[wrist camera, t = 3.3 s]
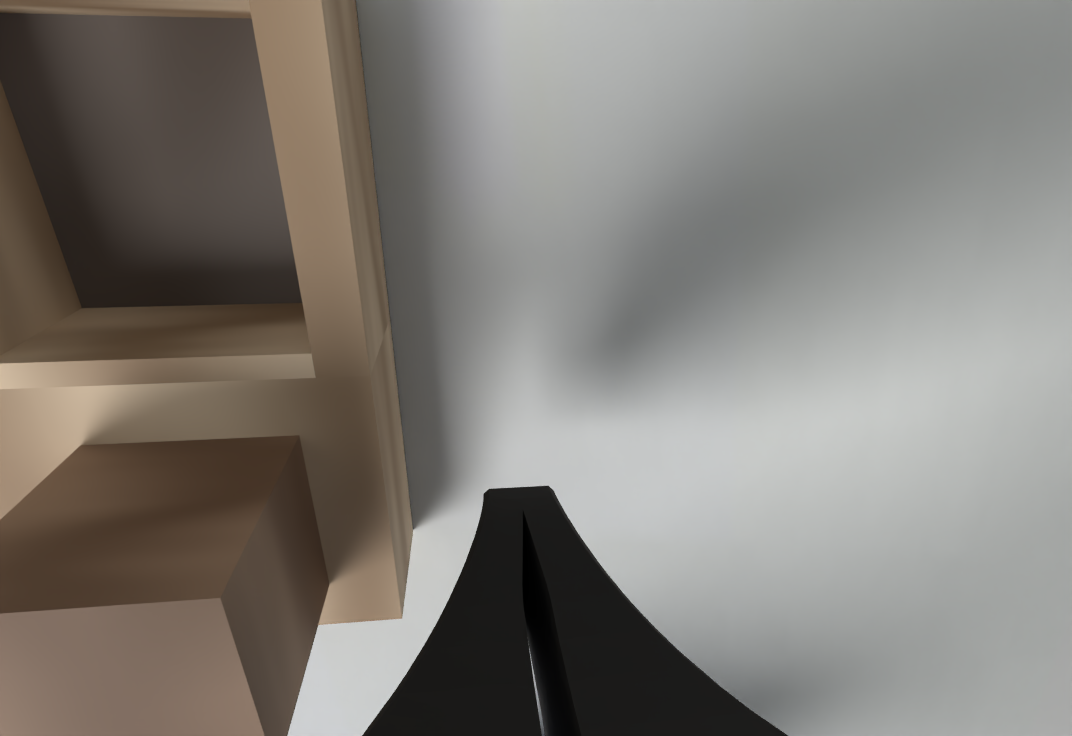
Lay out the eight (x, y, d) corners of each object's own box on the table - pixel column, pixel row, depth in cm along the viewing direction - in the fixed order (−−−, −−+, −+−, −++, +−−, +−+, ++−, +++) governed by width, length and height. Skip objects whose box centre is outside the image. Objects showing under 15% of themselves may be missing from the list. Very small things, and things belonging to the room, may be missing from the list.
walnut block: (299, 434, 11) (219, 597, 8) (329, 584, 13) (276, 773, 9) (80, 445, 11) (-109, 621, 7) (142, 597, 13) (13, 799, 9)
